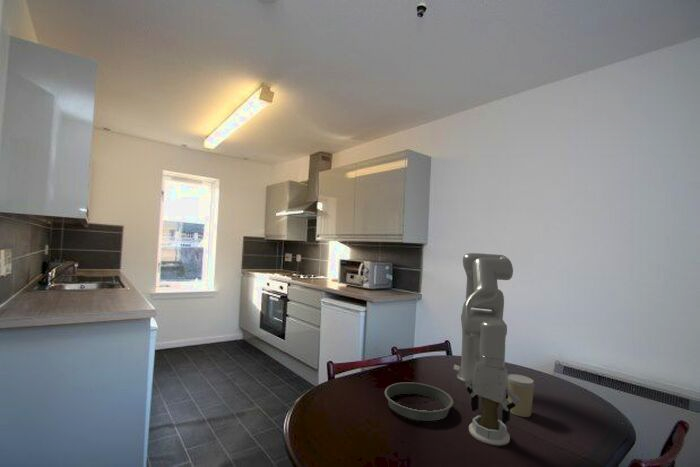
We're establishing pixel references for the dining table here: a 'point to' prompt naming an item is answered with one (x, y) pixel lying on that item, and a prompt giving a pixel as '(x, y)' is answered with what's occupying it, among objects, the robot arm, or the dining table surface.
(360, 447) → the dining table surface
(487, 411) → the olive tapered block
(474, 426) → the ring holder
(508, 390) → the robot arm
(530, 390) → the cream upright cylinder
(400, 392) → the cake pan
